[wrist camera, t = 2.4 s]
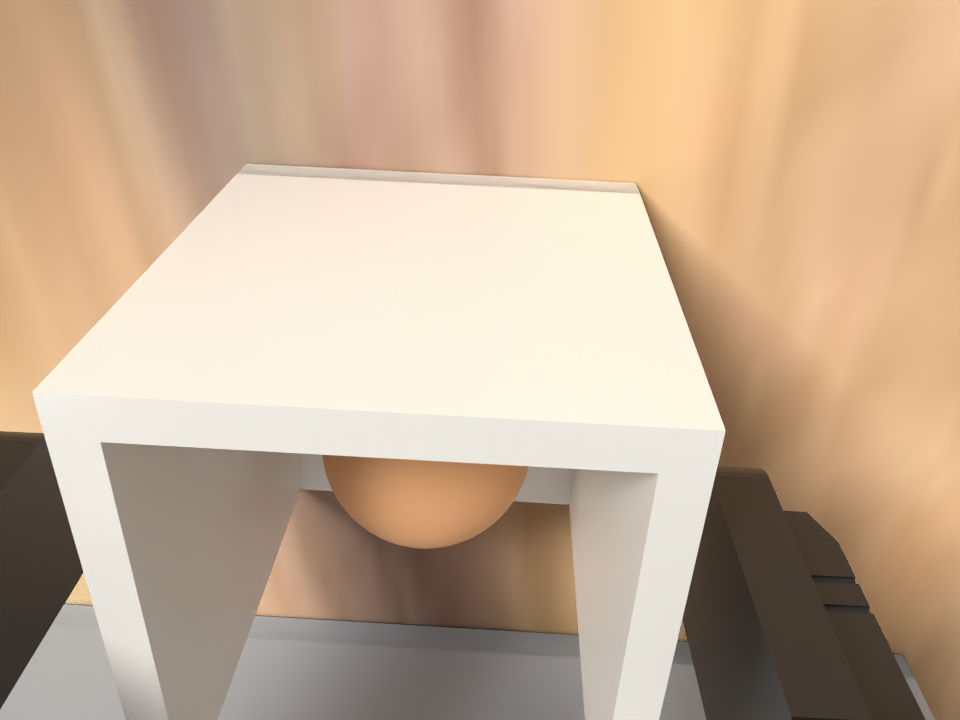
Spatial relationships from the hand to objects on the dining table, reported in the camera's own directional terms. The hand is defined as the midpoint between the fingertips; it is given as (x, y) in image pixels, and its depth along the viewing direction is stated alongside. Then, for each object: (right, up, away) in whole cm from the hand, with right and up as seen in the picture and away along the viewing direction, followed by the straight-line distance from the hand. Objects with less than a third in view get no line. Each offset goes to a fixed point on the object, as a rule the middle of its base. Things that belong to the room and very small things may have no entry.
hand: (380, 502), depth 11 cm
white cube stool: (+1, +2, +4) cm, 4 cm away
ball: (0, +1, +2) cm, 2 cm away
